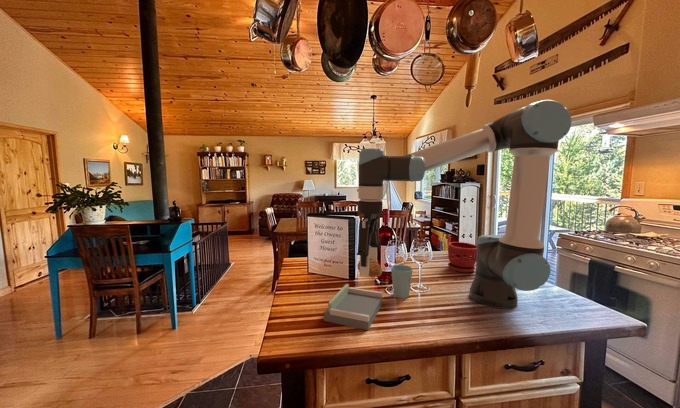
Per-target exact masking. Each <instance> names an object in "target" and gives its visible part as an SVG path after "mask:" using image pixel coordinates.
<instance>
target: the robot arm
mask: <svg viewBox="0 0 680 408" xmlns="http://www.w3.org/2000/svg"><path fill="white" fill-rule="evenodd" d="M571 127H572V116H571V112H570V111H569V110H568V108H567V107H565V106H564V104H563V103H561V102H560V101H557V100H555V99H554V100H553V99H543V100H539V101H535V102H534V101H533V102H531V103H529V104H528V105H526V106H523V107H521V108H518V109H515V110H513V111H511V112H509V113H507V114H505V115H503V116H501V117H499V118H498V119H497V118H496V120H493V121H490V122H488V123H485V124H483V125H481V126H480V128H479V129H477V130H474V131H471V132H469V133H466V134H462V135H460V136H457V137H455V138H451V139H449V140H446V141H443V142H441V143H438V144H435V145H431V146H429V147H426V148H423V149H419V150H417V151H415V152H411V153H408V154H406V155H393V156H392V155H386V154H385V150H384V149H382V148H363V149H361V150H360V151H359V155H358V156H359V157H358V184H357V185H358V188H357V189H356V192H357V195H358V197H357V198H358V199H359V200H358V201H357V212H358V213H359V214H363V218H362V219H361V220H360V221H359V235H358V244H357V247H358V248H357V252H356V255H357V256H359V262H360V271H359V277H362V278H369V258H370V259H372V260H375V261H376V262H378V248H380V247H381V244H380V235H379V234H380V233H379V232H380V231H379V230H380V229H379V214H382V213H383V201H382V200H383V199H384V181H385V182H389V181H390V182H411V183H412V182H421V181H423V179H424V177H425V174H426V172H427V171H431V170H433V169H437V168H440V167H443V166H446V165H449V164H452V163H454V162H458V161H461V160H464V159H467V158H469V157H473V156H475V155H479V154H481V153H485V152H487V153H494V152H498V151H500V150H501V151H502V150H506V149H508V151H509V152H510V153H511V155H513V164H512V166H513V167H512V173H511V174H512V175H511V182H510V191H509V199H508V208H507V215H506V216H507V217H506V223H505V224H506V225H505V234H504V235H500V234H497V235H496V234H484V235H483V234H482V235H479V236H478V237H477V241H476V246H477V256H476V263H475V276H474V278H473V281H472V283H471V285H470V287H469V292H468V293H469V294H468V295H469V297H470V299H472V300H473V301H475V302H476V303H479V304H481V305H484V306H487V307H491V308H495V309H496V308H497V309H509V308H510V309H511V308H515V307H516V306H517V305H518V298H519V297H518V294H517V290H519V291H523V292H530V291H535V290H537V289H539V288H541V286H542V287H543V286H544V285H545V284H546V283H547V282H548V281H549V279H550V277H551V270H552V268H551V264H550V263H549V262H548V260H547V259H546V258H545V257H544V252H545V245H544V243H543V242H541V241H540V233H541V226H542V219H543V212H544V203H545V195H546V189H547V188H546V187H547V182H548V181H547V180H548V175H549V174H548V173H549V167H550V166H549V165H550V160H551V159H550V158H551V156H553V155H554V154H555V153H556V152H558V148H559V142H560V140H562V139H564V137H565V136H566V135H567V134H569V132H570V130H571Z"/></svg>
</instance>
